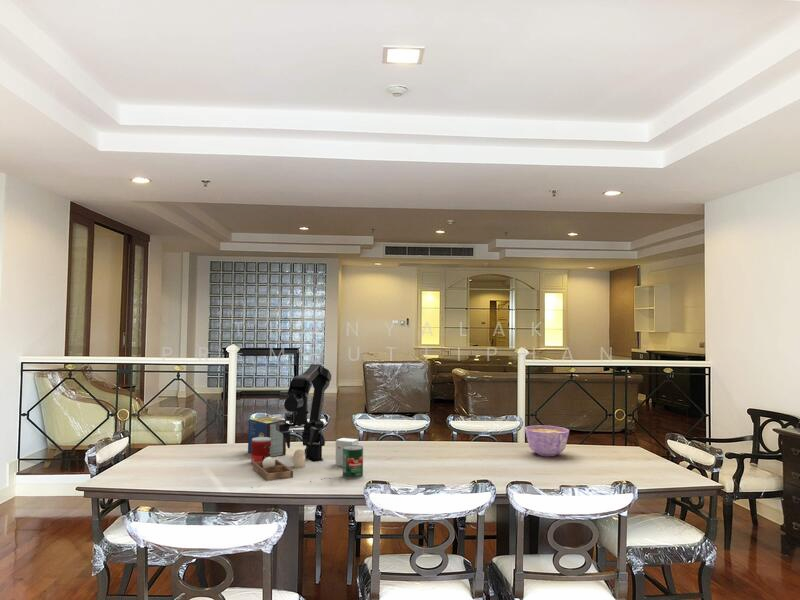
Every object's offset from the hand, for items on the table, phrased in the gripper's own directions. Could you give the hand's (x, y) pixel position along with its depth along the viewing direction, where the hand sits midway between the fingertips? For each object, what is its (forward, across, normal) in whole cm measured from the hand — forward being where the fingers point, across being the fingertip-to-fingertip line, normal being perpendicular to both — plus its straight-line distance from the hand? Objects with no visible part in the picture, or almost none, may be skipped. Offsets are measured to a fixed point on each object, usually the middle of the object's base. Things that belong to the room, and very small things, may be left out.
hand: (299, 447), depth 224 cm
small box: (+9, -20, +2) cm, 22 cm away
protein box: (+9, +4, -33) cm, 34 cm away
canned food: (+9, +12, -13) cm, 20 cm away
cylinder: (+9, 0, 0) cm, 9 cm away
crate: (+9, +13, +5) cm, 16 cm away
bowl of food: (+9, -110, +25) cm, 113 cm away
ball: (+8, +13, 0) cm, 15 cm away
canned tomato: (+9, -15, +19) cm, 26 cm away
